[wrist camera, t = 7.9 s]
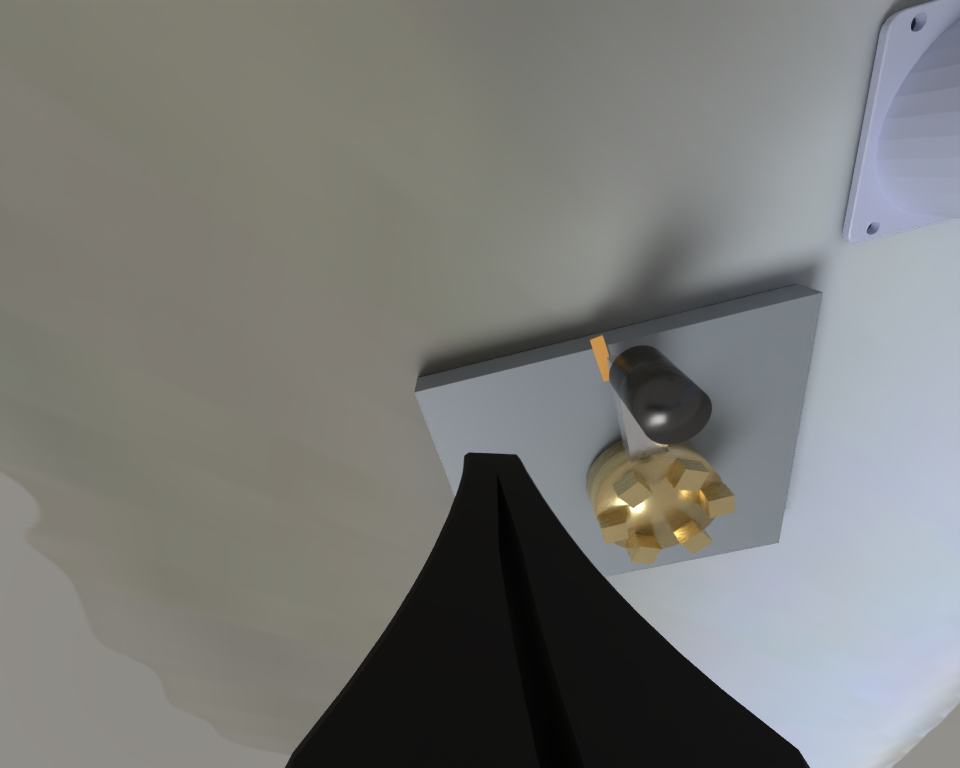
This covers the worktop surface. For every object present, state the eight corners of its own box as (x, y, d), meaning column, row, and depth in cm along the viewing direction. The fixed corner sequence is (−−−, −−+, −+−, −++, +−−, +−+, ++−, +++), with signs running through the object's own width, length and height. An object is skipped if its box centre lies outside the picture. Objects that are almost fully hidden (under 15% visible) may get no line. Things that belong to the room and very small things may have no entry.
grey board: (799, 271, 18) (826, 279, 17) (763, 524, 27) (779, 544, 25) (413, 367, 20) (410, 382, 19) (493, 578, 28) (494, 599, 27)
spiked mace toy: (703, 502, 23) (763, 585, 18) (596, 530, 24) (628, 615, 19) (691, 309, 17) (773, 359, 13) (549, 353, 18) (579, 415, 13)
